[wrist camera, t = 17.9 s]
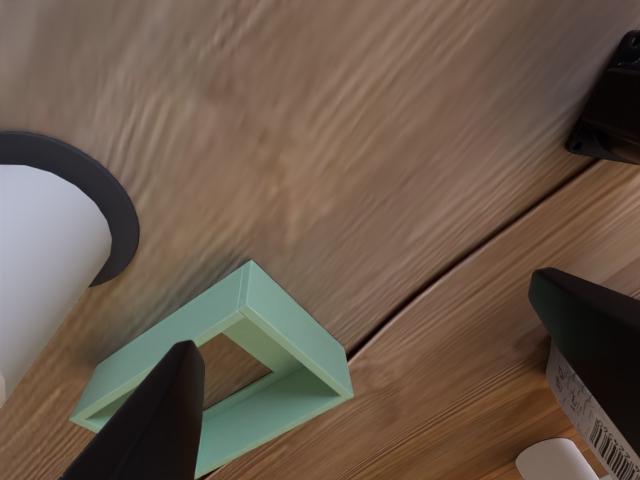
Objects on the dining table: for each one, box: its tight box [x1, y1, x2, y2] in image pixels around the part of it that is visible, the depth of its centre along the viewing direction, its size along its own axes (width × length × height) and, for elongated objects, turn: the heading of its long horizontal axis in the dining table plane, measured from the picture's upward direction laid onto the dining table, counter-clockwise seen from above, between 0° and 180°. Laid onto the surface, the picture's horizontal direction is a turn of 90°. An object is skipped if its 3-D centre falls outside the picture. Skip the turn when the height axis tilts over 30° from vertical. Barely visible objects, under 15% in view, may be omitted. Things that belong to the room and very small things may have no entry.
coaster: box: [0, 131, 139, 287], centre depth 20 cm, size 10×10×1 cm
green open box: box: [69, 260, 354, 479], centre depth 26 cm, size 15×11×4 cm
